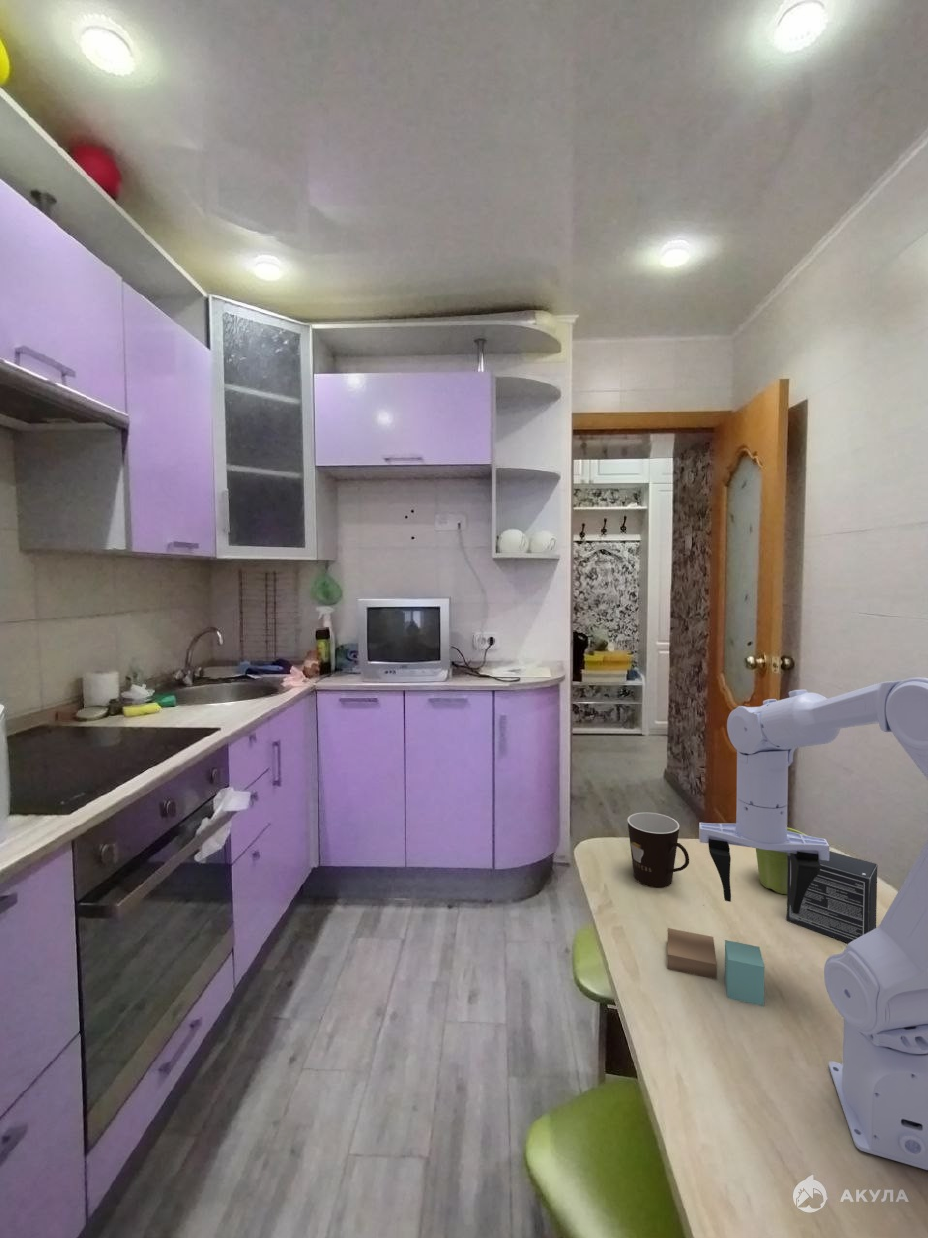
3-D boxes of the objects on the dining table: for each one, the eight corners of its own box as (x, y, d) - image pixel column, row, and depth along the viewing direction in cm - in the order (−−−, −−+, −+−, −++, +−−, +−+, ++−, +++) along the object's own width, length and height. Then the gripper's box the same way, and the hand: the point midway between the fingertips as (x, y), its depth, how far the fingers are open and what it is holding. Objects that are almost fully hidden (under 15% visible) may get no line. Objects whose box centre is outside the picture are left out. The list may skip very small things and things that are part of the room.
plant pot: (795, 872, 97) (796, 825, 96) (824, 902, 88) (825, 850, 87) (740, 870, 98) (741, 823, 97) (763, 900, 89) (764, 848, 88)
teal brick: (763, 1006, 66) (764, 967, 66) (727, 998, 68) (728, 959, 67) (758, 984, 70) (759, 946, 70) (724, 976, 71) (724, 940, 71)
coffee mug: (621, 865, 100) (622, 812, 100) (669, 865, 100) (669, 812, 99) (639, 901, 89) (640, 841, 88) (693, 902, 88) (694, 842, 88)
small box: (878, 931, 80) (880, 862, 80) (870, 953, 76) (872, 879, 75) (796, 903, 88) (797, 839, 87) (784, 920, 83) (785, 854, 83)
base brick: (716, 979, 71) (716, 964, 71) (667, 968, 73) (667, 954, 73) (713, 950, 76) (713, 936, 76) (667, 941, 79) (667, 928, 78)
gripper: (820, 795, 70) (818, 897, 71) (698, 782, 76) (697, 877, 76) (834, 817, 64) (832, 929, 65) (700, 801, 69) (699, 904, 70)
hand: (760, 903), depth 70 cm, fingers open, 7 cm apart
